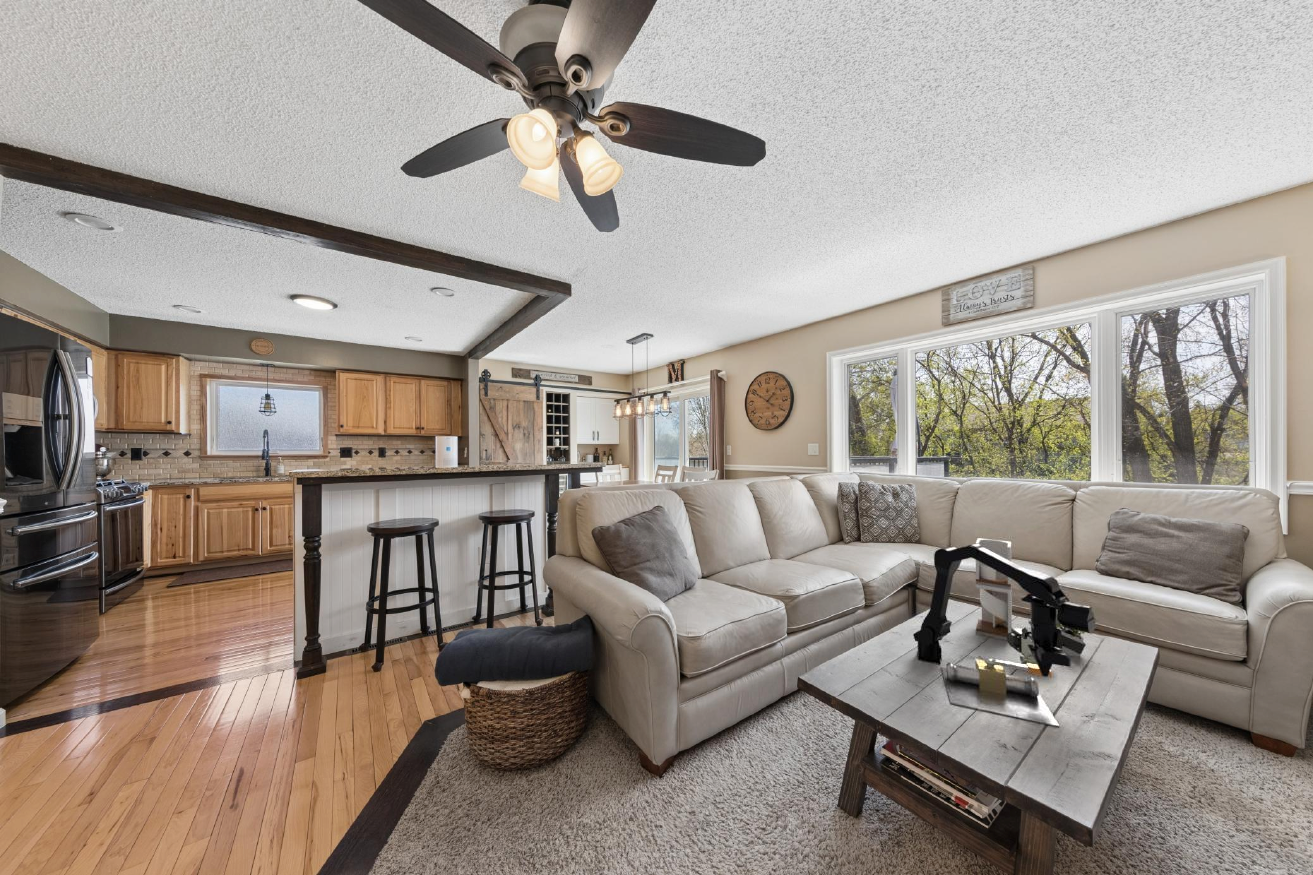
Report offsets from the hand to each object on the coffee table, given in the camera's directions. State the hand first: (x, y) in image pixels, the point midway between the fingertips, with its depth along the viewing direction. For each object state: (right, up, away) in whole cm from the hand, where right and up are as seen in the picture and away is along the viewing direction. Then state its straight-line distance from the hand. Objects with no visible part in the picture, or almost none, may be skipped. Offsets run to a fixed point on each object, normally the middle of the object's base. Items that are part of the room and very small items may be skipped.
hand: (1044, 675), depth 127 cm
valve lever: (-3, -1, +6) cm, 7 cm away
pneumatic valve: (+15, -8, +23) cm, 28 cm away
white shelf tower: (+21, -8, +47) cm, 53 cm away
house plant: (+36, -8, +29) cm, 47 cm away
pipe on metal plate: (-11, -8, +5) cm, 14 cm away
